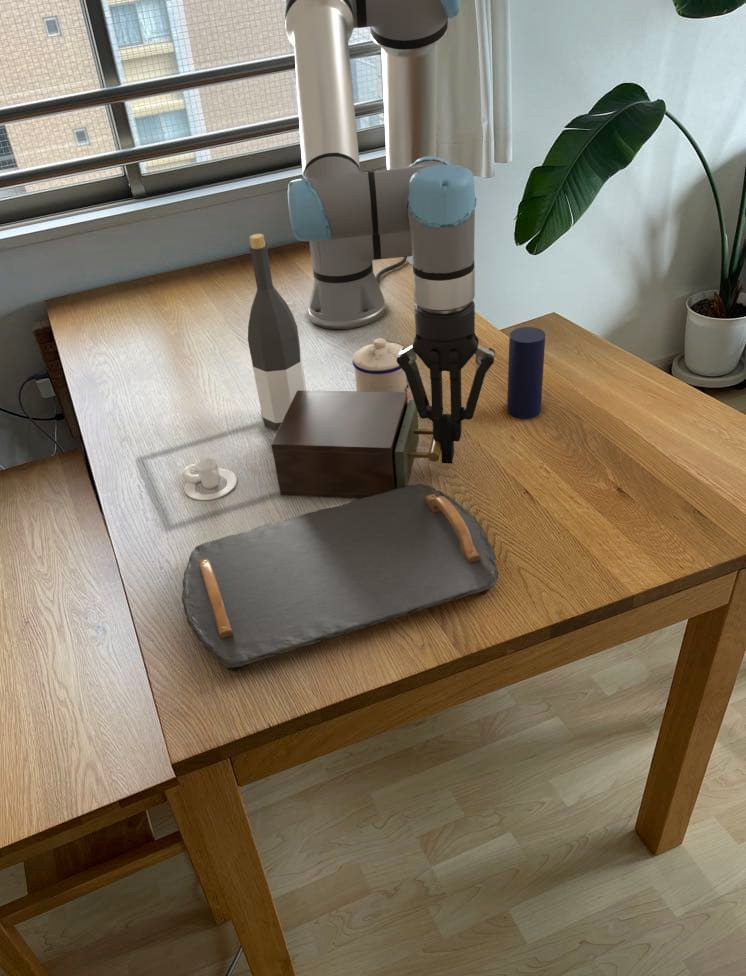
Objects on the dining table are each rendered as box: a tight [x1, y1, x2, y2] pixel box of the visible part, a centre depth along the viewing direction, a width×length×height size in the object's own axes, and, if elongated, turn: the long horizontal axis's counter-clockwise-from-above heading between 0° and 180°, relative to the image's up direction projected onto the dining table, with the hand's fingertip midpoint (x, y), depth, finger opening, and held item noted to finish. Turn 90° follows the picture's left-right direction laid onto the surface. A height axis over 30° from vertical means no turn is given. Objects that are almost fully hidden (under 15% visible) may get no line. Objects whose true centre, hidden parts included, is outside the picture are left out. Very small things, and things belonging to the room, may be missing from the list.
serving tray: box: [181, 483, 499, 673], centre depth 101 cm, size 39×23×6 cm, turn 108°
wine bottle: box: [247, 233, 307, 432], centre depth 125 cm, size 8×8×30 cm
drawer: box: [392, 399, 441, 489], centre depth 118 cm, size 20×14×7 cm
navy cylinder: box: [506, 326, 546, 420], centre depth 125 cm, size 5×5×13 cm
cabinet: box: [270, 390, 408, 500], centre depth 119 cm, size 17×15×9 cm
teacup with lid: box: [351, 337, 411, 402], centre depth 132 cm, size 12×9×12 cm
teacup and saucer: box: [181, 457, 238, 501], centre depth 121 cm, size 9×8×4 cm
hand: (447, 458), depth 117 cm, fingers closed
